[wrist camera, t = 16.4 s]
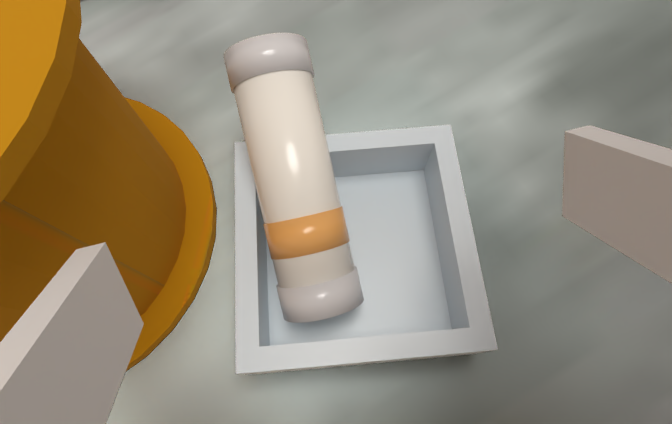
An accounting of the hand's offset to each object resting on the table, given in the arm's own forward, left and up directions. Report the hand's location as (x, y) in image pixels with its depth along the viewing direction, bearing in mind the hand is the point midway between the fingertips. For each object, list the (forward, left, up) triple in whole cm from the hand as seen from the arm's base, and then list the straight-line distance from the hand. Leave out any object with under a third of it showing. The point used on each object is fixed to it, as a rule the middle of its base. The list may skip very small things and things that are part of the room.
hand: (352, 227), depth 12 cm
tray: (0, -2, -11) cm, 12 cm away
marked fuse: (+1, +1, -9) cm, 9 cm away
